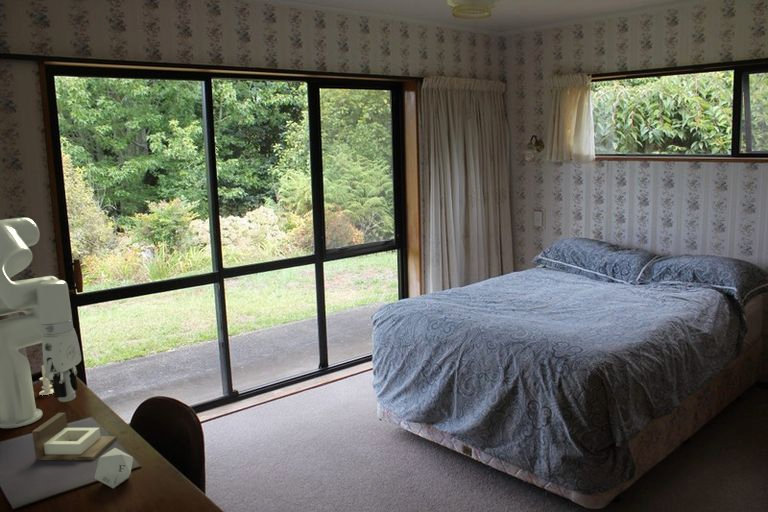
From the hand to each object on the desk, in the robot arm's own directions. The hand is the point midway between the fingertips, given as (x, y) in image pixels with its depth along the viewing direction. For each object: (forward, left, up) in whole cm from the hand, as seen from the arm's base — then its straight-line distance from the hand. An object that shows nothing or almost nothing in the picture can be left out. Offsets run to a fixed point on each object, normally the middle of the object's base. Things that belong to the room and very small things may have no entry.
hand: (66, 392), depth 176 cm
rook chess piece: (0, 0, -2) cm, 2 cm away
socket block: (0, 0, -15) cm, 15 cm away
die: (+21, -17, -17) cm, 32 cm away
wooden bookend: (+1, 0, -16) cm, 16 cm away
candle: (-34, +41, -17) cm, 56 cm away
